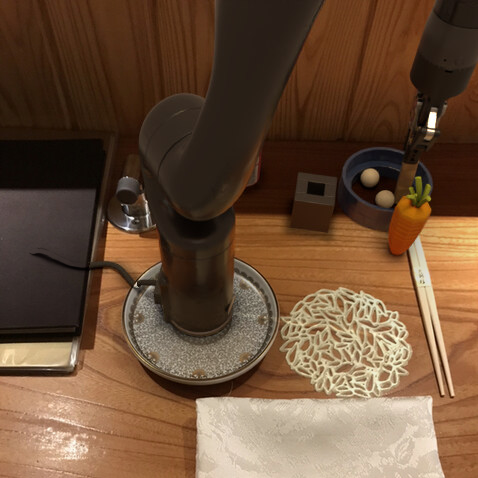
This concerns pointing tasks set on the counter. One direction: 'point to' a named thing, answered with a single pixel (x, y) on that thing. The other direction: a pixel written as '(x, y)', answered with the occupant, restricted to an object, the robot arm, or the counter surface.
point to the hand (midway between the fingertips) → (409, 156)
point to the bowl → (386, 166)
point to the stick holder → (313, 202)
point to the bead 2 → (384, 199)
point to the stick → (405, 180)
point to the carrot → (409, 218)
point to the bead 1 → (369, 177)
